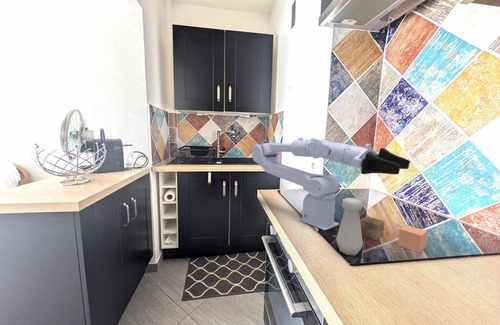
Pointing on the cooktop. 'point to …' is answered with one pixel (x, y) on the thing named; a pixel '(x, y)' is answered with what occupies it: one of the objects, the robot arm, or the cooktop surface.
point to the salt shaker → (350, 228)
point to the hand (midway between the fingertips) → (404, 167)
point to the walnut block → (372, 228)
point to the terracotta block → (412, 238)
